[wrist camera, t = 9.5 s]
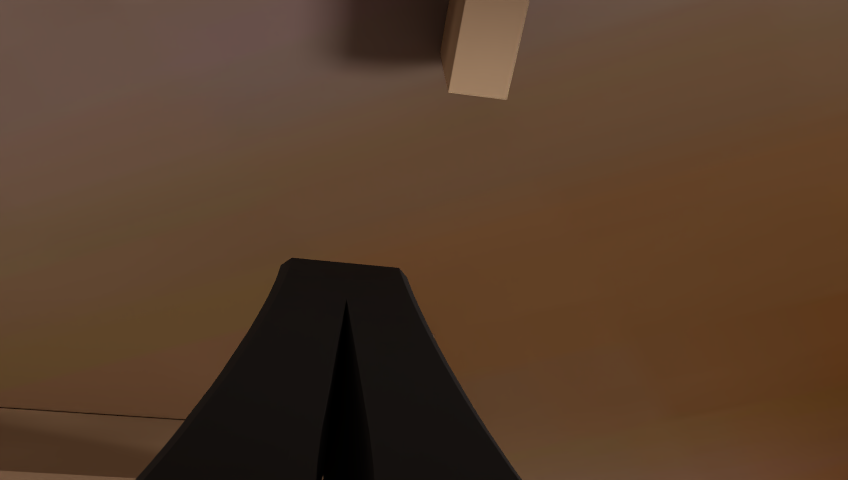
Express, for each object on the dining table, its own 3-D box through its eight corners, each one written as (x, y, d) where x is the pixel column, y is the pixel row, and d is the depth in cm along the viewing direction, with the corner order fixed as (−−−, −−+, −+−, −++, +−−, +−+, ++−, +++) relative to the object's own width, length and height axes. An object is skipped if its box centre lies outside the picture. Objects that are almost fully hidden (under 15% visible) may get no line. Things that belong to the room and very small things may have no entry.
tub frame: (406, 462, 25) (410, 521, 23) (-215, 424, 23) (-266, 486, 21) (548, -200, 15) (572, -187, 14) (-518, -390, 13) (-663, -407, 11)
